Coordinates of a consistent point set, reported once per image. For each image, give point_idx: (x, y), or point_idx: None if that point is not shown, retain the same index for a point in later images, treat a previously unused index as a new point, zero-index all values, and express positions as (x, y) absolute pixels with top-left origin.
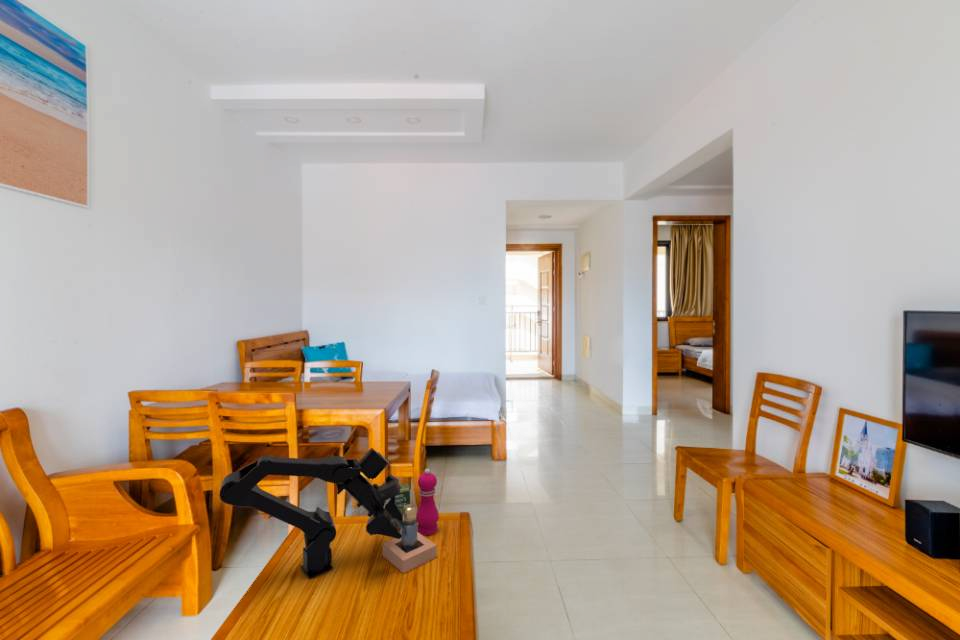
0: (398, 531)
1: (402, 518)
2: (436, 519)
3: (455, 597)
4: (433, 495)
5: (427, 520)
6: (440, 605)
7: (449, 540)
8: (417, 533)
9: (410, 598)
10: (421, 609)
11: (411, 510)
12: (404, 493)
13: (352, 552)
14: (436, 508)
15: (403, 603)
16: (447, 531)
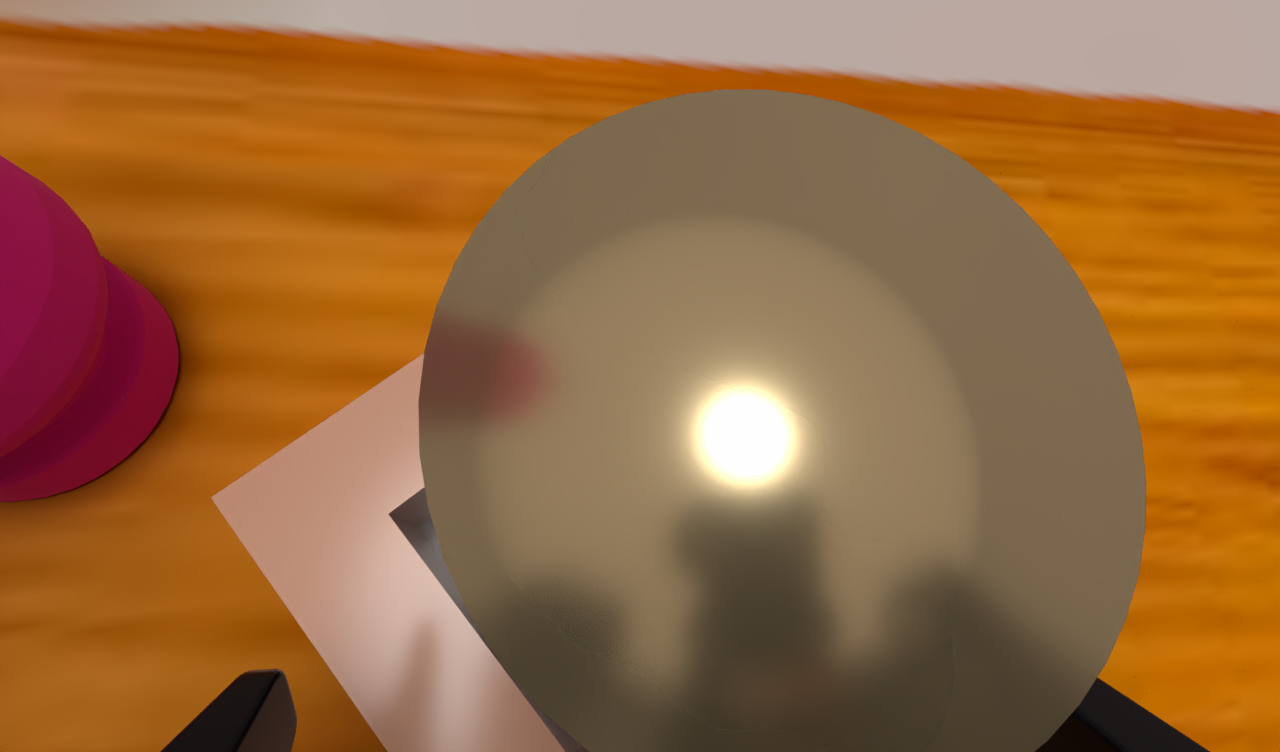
0: (1115, 713)
1: (260, 736)
2: (27, 174)
3: (1094, 156)
4: None
5: (58, 287)
6: (1187, 250)
7: (335, 154)
8: (324, 447)
9: (1172, 465)
10: (1255, 374)
11: (1033, 266)
12: None
13: None
14: None
15: (1236, 515)
16: (139, 163)
